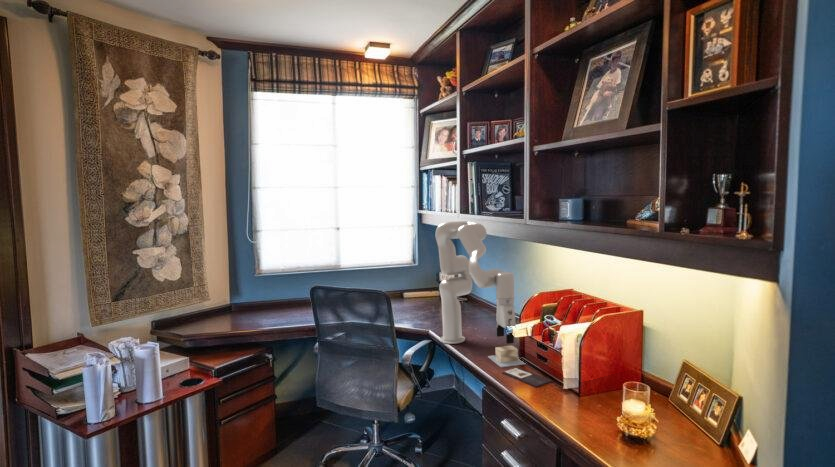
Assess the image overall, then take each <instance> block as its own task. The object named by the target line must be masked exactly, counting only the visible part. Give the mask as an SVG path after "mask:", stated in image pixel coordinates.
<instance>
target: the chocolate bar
mask: <svg viewBox="0 0 835 467" xmlns="http://www.w3.org/2000/svg"><path fill="white" fill-rule="evenodd" d="M501 374H502V375H505V376H506V377H507V376H508V377H509V378H512V379H515V380H517V381H519V382H521V383H523V384H527V385H529V386H531V387H534V388H535V389H537V388H539V387H542V386H545V385H548V384H550V383H553V382H554V380H552V379H550V378H547V377H545V376H542V375H539V374H537V373H534V372H532V371H528V370H527V369H524V368H521V367H519V366H517V367H515V368H512V369H508V370H505V371H502V372H501ZM552 381H553V382H552Z"/></svg>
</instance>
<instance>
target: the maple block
mask: <svg viewBox="0 0 835 467" xmlns="http://www.w3.org/2000/svg"><path fill="white" fill-rule="evenodd" d="M494 348H495V349H494V350H495V355H496V359H497V360H498V361H499V362H501V363H502V362H510V361H518V357H519V350H518V348H517V347H515V345H504V346H497V347H496V346H495V347H494Z"/></svg>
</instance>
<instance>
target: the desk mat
mask: <svg viewBox="0 0 835 467" xmlns="http://www.w3.org/2000/svg"><path fill="white" fill-rule="evenodd" d="M487 358H488V359H490V360H491V361H492V362H494V364H496V365H497V366H499V367H500V368H508V367H516V366H517V367H518V366H524V365H527V364H526V363H527V362H526V363H524V362H523V361H524V360H523V361H521V360H520V359H521V358H520V357H519V356H518V361H510V362H502V363H501V362H499V361H498V360H497V359H496V354H495V355H487ZM519 358H520V359H519Z"/></svg>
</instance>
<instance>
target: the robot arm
mask: <svg viewBox="0 0 835 467" xmlns="http://www.w3.org/2000/svg"><path fill="white" fill-rule="evenodd" d="M434 233H435V234H434V235H435V241H436V244H437V249H438V257H439V269H440V272H441V273H442V275H443V276H446V277H447V276H454V275H455V277H448V278H446V279H443V280H441V282H440V283H439V285H438V286H439V287H438V290H439V295H440V298H441V317H442V320H441V321H442V336H440V338H439V341H440V342H441V343H443V344H447V345H452V344H453V345H454V344H456V345H457V344H461V343H463V342H465V341H466V337H465V336H463V334H462V332H463V331H462V328H463V327H462V306H461V302H460V300H459V299H458V297H462V296H466V295H469V294H470V293H471V292H472V290H473V282H474V284H475V285H476V286H477V287H478V288H480V289H488V288H489V289H490V288H492V287H493V288H495V287H496V288H495V289H496V290H495V296H496V297H495V298H496V299H495V300H496V302H495V303H496V315H495V319H496V320H495V323H496V337H504V336H506V337H505V338H506V344H507V345H508V344H514V342H515V337H514V336H515V335H514V336H513V335H512V333H508V332H507V330H506V327H507V326H508V327H510V326H515V327H516V312H515V311H516V310H515V275H514V273H512V272H508V271H504V270H501V269H499V268H498V269H497V268H495V269H494V268H493V269H486V270H483V269H482V267H481V266H480V264H479V259H481V258H483V256H484V255H485V254H486V252H487V247H486V246H485V244H484V243H483V241H484V240H485V239H486V238H487V234H488V233H487V229H486V227H485V226H484V225H483V224H482V223H477V222H473V221H468V220H467V221H466V220H461V221H460V220H459V221H446V222H442V223H440V224H438V226H437V227H436V229H435V232H434ZM455 239H456V240H457V239H459V240H460V243H461V244H462V246H463V247H464V250H465V251H466V253H467V254H468V256H469V257H467V256H465V255H463V254H460V255H457V251H456V250H457V249H456V246H455V244H454V242H453V240H455ZM456 275H457V277H456ZM505 330H506V334H505Z"/></svg>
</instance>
